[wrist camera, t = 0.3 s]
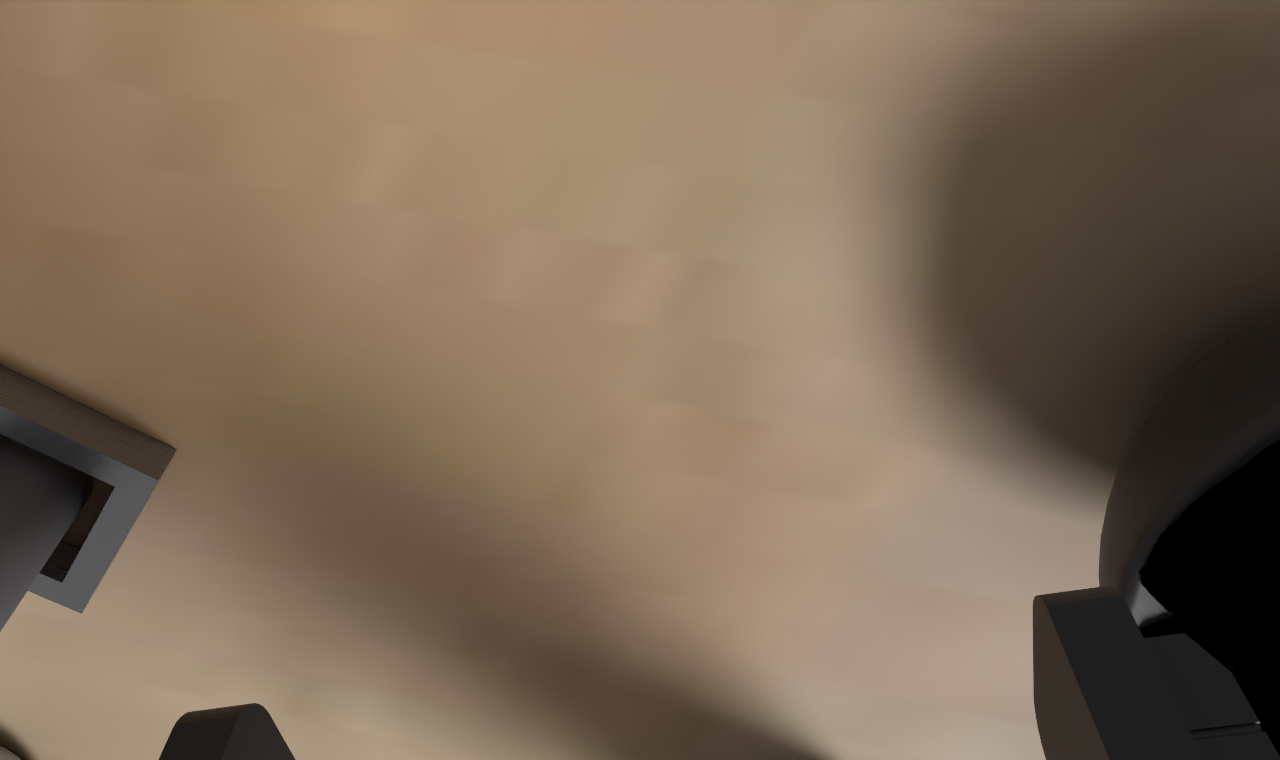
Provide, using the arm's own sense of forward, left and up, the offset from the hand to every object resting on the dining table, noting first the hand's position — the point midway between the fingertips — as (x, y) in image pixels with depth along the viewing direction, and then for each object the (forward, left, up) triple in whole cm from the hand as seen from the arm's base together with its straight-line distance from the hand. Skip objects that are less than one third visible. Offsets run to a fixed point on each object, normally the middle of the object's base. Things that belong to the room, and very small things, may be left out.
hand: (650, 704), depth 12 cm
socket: (-16, +28, -29) cm, 43 cm away
